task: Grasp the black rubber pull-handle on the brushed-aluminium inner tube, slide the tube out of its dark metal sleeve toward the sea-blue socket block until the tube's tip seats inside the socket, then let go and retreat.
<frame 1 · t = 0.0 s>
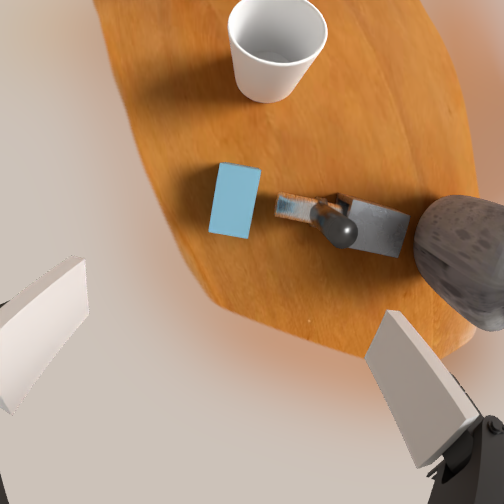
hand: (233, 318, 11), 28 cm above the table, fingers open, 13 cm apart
sleeve: (360, 219, 38), on the table
cup: (265, 76, 32), on the table
socket: (236, 193, 37), on the table
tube: (350, 224, 31), point 7 cm above the table, slide at 0.0 cm
vase: (435, 234, 39), on the table
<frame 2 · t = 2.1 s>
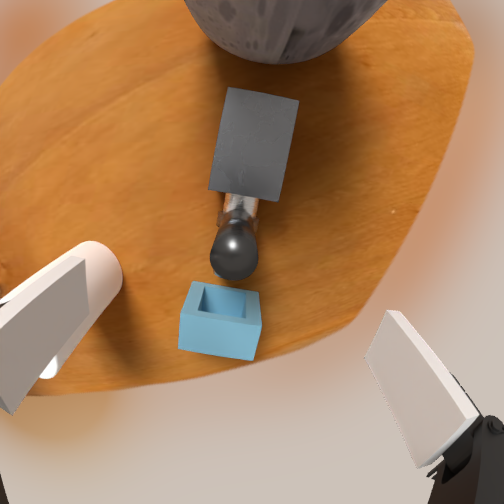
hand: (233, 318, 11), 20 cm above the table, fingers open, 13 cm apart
sleeve: (251, 146, 27), on the table
cup: (96, 270, 31), on the table
socket: (222, 302, 33), on the table
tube: (243, 195, 22), point 7 cm above the table, slide at 0.0 cm
vase: (269, 21, 22), on the table
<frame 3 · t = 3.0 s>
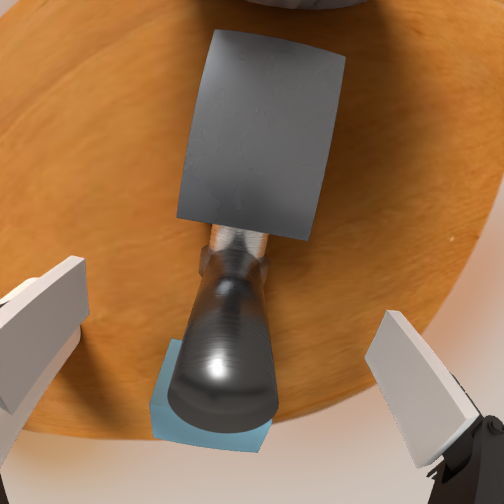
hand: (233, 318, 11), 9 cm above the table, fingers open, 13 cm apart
sleeve: (256, 138, 16), on the table
cup: (48, 315, 21), on the table
socket: (215, 366, 22), on the table
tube: (243, 231, 11), point 7 cm above the table, slide at 0.0 cm
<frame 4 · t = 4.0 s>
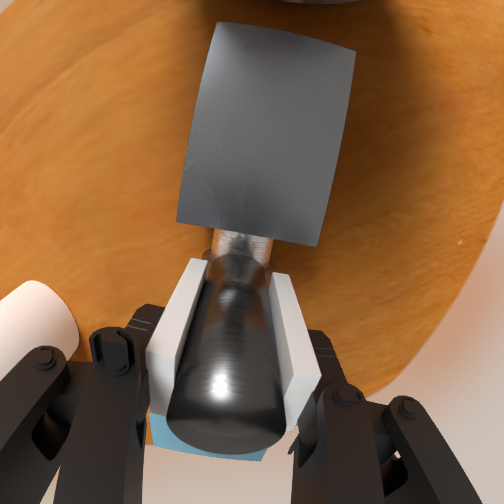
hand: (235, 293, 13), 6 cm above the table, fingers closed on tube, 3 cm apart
sleeve: (261, 137, 16), on the table
cup: (47, 318, 20), on the table
socket: (217, 372, 21), on the table
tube: (247, 236, 11), point 7 cm above the table, slide at 0.0 cm, touching gripper
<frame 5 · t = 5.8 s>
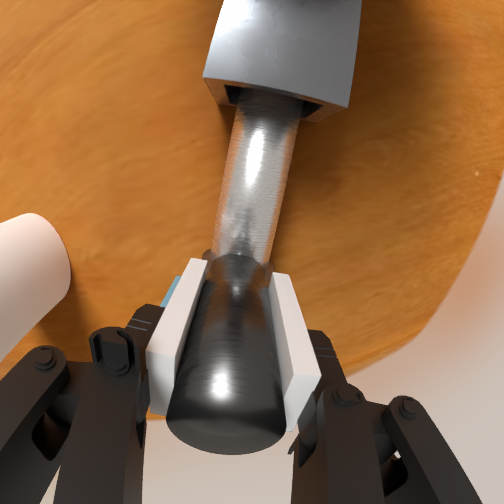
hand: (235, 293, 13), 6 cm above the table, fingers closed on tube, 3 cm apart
sleeve: (279, 50, 14), on the table
cup: (37, 259, 18), on the table
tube: (248, 236, 11), point 7 cm above the table, slide at 6.1 cm, touching gripper
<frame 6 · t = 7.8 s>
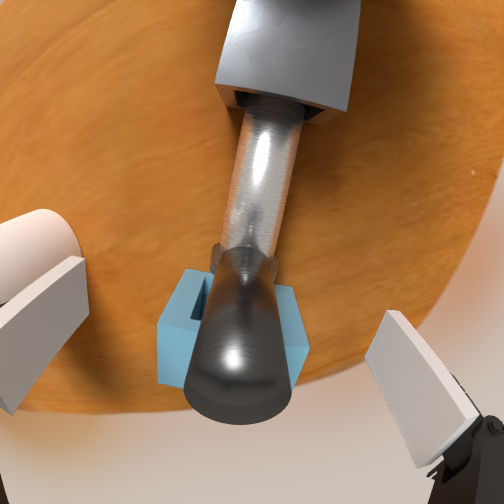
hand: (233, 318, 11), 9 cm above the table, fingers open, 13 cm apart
sleeve: (284, 56, 15), on the table
cup: (49, 253, 19), on the table
socket: (234, 304, 21), on the table
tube: (255, 229, 12), point 7 cm above the table, slide at 6.2 cm
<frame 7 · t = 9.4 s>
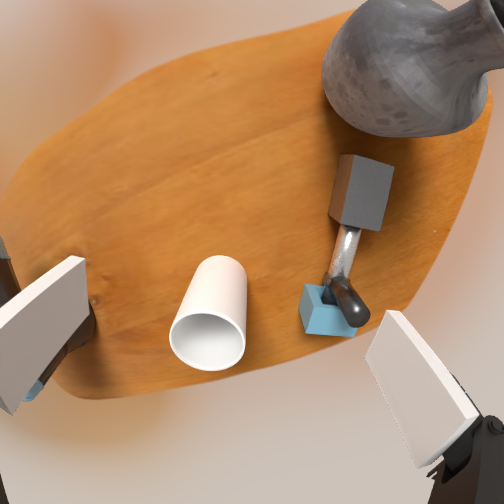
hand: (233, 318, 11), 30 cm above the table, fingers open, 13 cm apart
sleeve: (352, 188, 38), on the table
cup: (221, 279, 43), on the table
socket: (324, 298, 44), on the table
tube: (350, 272, 35), point 7 cm above the table, slide at 6.2 cm
vase: (362, 90, 33), on the table
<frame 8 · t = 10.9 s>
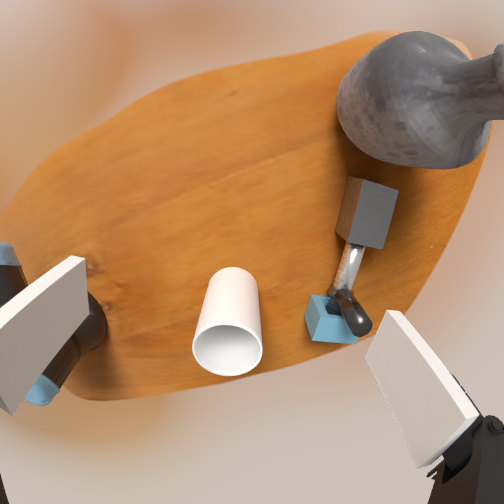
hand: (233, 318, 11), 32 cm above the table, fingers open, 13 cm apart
sleeve: (358, 207, 41), on the table
cup: (232, 289, 46), on the table
socket: (327, 308, 47), on the table
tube: (355, 286, 38), point 7 cm above the table, slide at 6.2 cm
vase: (371, 114, 36), on the table
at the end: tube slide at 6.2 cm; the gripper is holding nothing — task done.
